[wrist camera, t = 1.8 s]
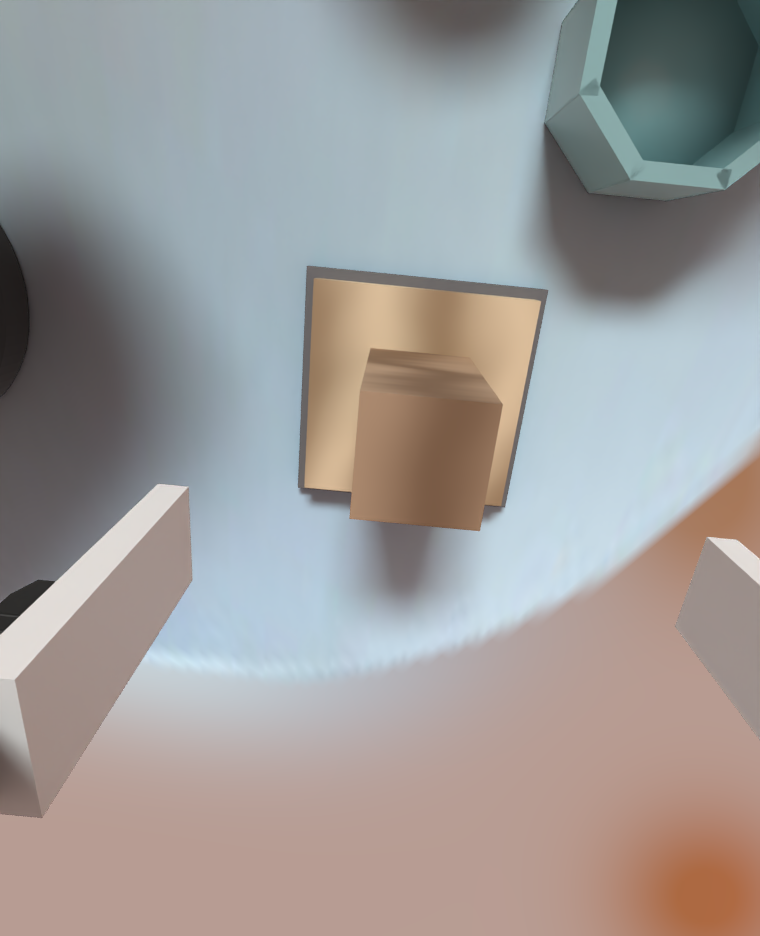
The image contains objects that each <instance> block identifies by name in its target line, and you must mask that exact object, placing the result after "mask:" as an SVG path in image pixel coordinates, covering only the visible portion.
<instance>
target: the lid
mask: <svg viewBox="0 0 760 936" xmlns="http://www.w3.org/2000/svg"><path fill="white" fill-rule="evenodd" d="M540 305H541V301H538V300H534V299H524V298H514V297H504V296H494V295H484V294H474V293H464V292H454V291H444V290H434V289H424V288H414V287H404V286H394V285H384V284H374V283H364V282H354V281H344V280H334V279H324V278H314V284H313V306H312V328H311V350H310V373H309V395H308V417H307V439H306V461H305V484H304V487H305V488H315V489H326V490H336V491H347V492H352V494H351V506H350V519H358V520H369V521H379V522H390V523H400V524H411V525H421V526H432V527H442V528H453V529H464V530H474V531H480V527H481V522H482V516H483V511H484V506H485V505H493V506H501V504H502V499H503V494H504V488H505V483H506V478H507V473H508V468H509V463H510V458H511V453H512V448H513V443H514V437H515V432H516V427H517V422H518V417H519V412H520V407H521V402H522V397H523V391H524V386H525V381H526V376H527V371H528V366H529V361H530V356H531V351H532V346H533V340H534V335H535V330H536V325H537V320H538V315H539V310H540Z"/></svg>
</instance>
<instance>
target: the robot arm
mask: <svg viewBox="0 0 760 936" xmlns="http://www.w3.org/2000/svg"><path fill="white" fill-rule="evenodd" d="M28 333H29V310H28V300H27V294H26V289H25V285H24V281H23V277H22V273H21V270H20V267H19V264H18V262H17V259H16V256H15V254H14V252H13V249H12V247H11V245H10V243H9V241H8V239H7V237H6V235H5V233H4V231H3V229H2V228H1V226H0V397H1V396H2V395H3V394H4V393H5V392H6V390H7V389H8V388H9V386H10V385H11V383H12V382H13V380H14V379H15V377H16V375H17V373H18V371H19V369H20V366H21V364H22V361H23V358H24V355H25V351H26V346H27V341H28ZM191 581H192V560H191V536H190V512H189V488H188V487H186V486H175V485H165V484H157V485H156V486H155V487H154V488H153V489H152V490H151V491H150V492H149V493H148V494H147V495H146V496H145V497H144V498H143V499H142V500H141V501H140V502H139V503H137V504H136V505H135V506H134V507H133V508H132V509H131V510H130V511H129V512H128V513H127V514H126V515H125V516H124V517H123V518H122V519H121V520H120V521H119V522H118V523H117V524H116V525H114V526H113V527H112V528H111V529H110V530H109V531H108V532H107V533H106V534H105V535H104V536H103V537H102V538H101V539H100V540H99V541H98V542H97V543H96V544H95V545H94V546H93V547H91V548H90V549H89V550H88V551H87V552H86V553H85V554H84V555H83V556H82V557H81V558H80V559H79V560H78V561H77V562H76V563H75V564H74V565H73V566H72V567H71V568H70V569H69V570H67V571H66V572H65V573H64V574H63V575H62V576H61V577H60V578H59V579H58V580H57V581H56V582H55V581H44V580H37V581H35V582H33V583H31V584H29V585H27V586H25V587H23V588H22V589H20V590H18V591H16V592H14V593H12V594H10V595H9V596H8V597H7V598H6V599H4V600H3V601H2V602H1V603H0V814H5V815H16V816H27V817H37V818H42V817H43V816H44V814H45V812H46V811H47V810H48V808H49V806H50V805H51V803H52V802H53V800H54V798H55V797H56V795H57V794H58V792H59V791H60V789H61V787H62V786H63V784H64V783H65V781H66V779H67V778H68V776H69V775H70V773H71V771H72V770H73V768H74V767H75V765H76V764H77V762H78V760H79V759H80V757H81V756H82V754H83V752H84V751H85V749H86V748H87V746H88V745H89V743H90V741H91V740H92V738H93V737H94V735H95V734H96V732H97V730H98V729H99V727H100V726H101V724H102V722H103V721H104V719H105V718H106V716H107V714H108V713H109V711H110V710H111V708H112V707H113V705H114V703H115V702H116V700H117V699H118V697H119V695H120V694H121V692H122V691H123V689H124V688H125V686H126V684H127V682H128V681H129V680H130V678H131V676H132V675H133V673H134V671H135V670H136V669H137V667H138V665H139V664H140V662H141V661H142V659H143V657H144V656H145V654H146V653H147V651H148V650H149V648H150V646H151V645H152V643H153V642H154V640H155V638H156V637H157V635H158V634H159V632H160V630H161V629H162V627H163V626H164V624H165V623H166V621H167V619H168V618H169V616H170V615H171V613H172V611H173V610H174V608H175V607H176V605H177V604H178V602H179V600H180V599H181V597H182V596H183V594H184V592H185V591H186V589H187V588H188V586H189V585H190V583H191ZM675 627H676V628H677V630H678V631H679V632H680V634H681V635H682V636H683V638H684V639H685V640H686V642H687V643H688V644H689V646H690V647H691V648H692V650H693V651H694V652H695V654H696V655H697V657H698V658H699V659H700V660H701V662H702V663H703V664H704V666H705V667H706V669H707V670H708V671H709V673H710V674H711V675H712V677H713V678H714V679H715V681H716V682H717V683H718V685H719V686H720V687H721V689H722V690H723V691H724V693H725V694H726V695H727V697H728V698H729V699H730V701H731V702H732V703H733V705H734V706H735V707H736V709H737V710H738V711H739V713H740V714H741V716H742V717H743V718H744V720H745V721H746V722H747V724H748V725H749V726H750V728H751V729H752V730H753V732H754V733H755V734H756V736H757V737H758V738H759V740H760V559H759V558H758V557H757V556H755V555H754V554H753V553H752V552H751V551H750V550H748V549H747V548H746V547H745V546H744V545H742V544H741V543H740V542H739V541H738V540H732V539H722V538H712V537H707V538H706V541H705V544H704V547H703V550H702V552H701V555H700V558H699V561H698V563H697V566H696V569H695V572H694V575H693V578H692V580H691V583H690V586H689V589H688V592H687V594H686V597H685V600H684V603H683V605H682V608H681V611H680V614H679V617H678V620H677V622H676V625H675Z"/></svg>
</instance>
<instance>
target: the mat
mask: <svg viewBox="0 0 760 936" xmlns="http://www.w3.org/2000/svg"><path fill="white" fill-rule="evenodd" d="M314 278H324V279H334V280H344V281H354V282H364V283H374V284H384V285H394V286H404V287H414V288H424V289H434V290H444V291H454V292H464V293H474V294H484V295H494V296H504V297H514V298H524V299H534V300H538V301H541V305H540V310H539V315H538V320H537V325H536V330H535V335H534V340H533V346H532V351H531V356H530V361H529V366H528V371H527V376H526V381H525V386H524V391H523V397H522V402H521V407H520V412H519V417H518V422H517V427H516V432H515V437H514V443H513V448H512V453H511V458H510V463H509V468H508V473H507V478H506V483H505V488H504V494H503V499H502V504H501V506H497V507H505V504H506V499H507V494H508V489H509V484H510V479H511V474H512V469H513V464H514V459H515V454H516V449H517V444H518V439H519V434H520V429H521V424H522V419H523V414H524V409H525V404H526V399H527V394H528V389H529V384H530V379H531V374H532V369H533V364H534V359H535V354H536V349H537V344H538V339H539V334H540V329H541V324H542V319H543V313H544V308H545V303H546V298H547V293H548V290H545V289H535V288H525V287H515V286H506V285H496V284H486V283H476V282H466V281H456V280H446V279H436V278H426V277H416V276H406V275H396V274H386V273H376V272H366V271H356V270H346V269H336V268H326V267H316V266H307V276H306V301H305V326H304V351H303V376H302V401H301V425H300V450H299V475H298V488H305V487H304V484H305V461H306V439H307V417H308V395H309V373H310V350H311V328H312V306H313V284H314ZM308 489H315V488H308ZM319 490H326V489H319ZM329 491H336V490H329ZM340 492H347V491H340ZM350 493H352V492H350ZM486 506H493V505H486Z"/></svg>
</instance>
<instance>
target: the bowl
mask: <svg viewBox="0 0 760 936" xmlns="http://www.w3.org/2000/svg"><path fill="white" fill-rule="evenodd" d="M544 123H545V124H546V126H547V127H548V129H549V131H550V132H551V134H552V135H553V137H554V139H555V140H556V142H557V143H558V145H559V147H560V148H561V150H562V152H563V153H564V155H565V156H566V158H567V160H568V161H569V163H570V164H571V166H572V168H573V169H574V171H575V172H576V174H577V176H578V177H579V179H580V180H581V182H582V184H583V185H584V187H585V188H586V190H587V193H595V194H604V195H614V196H624V197H634V198H644V199H653V200H663V201H669V200H675V199H680V198H685V197H691V196H696V195H701V194H707V193H712V192H718V191H723V190H726V189H727V188H728V187H729V186H731V185H732V184H733V183H734V182H736V181H737V180H738V179H740V178H741V177H742V176H744V175H745V174H746V173H747V172H749V171H750V170H751V169H753V168H754V167H755V166H757V165H758V164H759V163H760V0H578V1H577V2H576V4H575V5H574V7H573V8H572V9H571V11H570V12H569V13H568V15H567V16H566V18H565V19H564V20H563V22H562V28H561V33H560V39H559V45H558V50H557V56H556V61H555V67H554V73H553V78H552V84H551V90H550V95H549V101H548V107H547V112H546V118H545V122H544Z"/></svg>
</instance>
